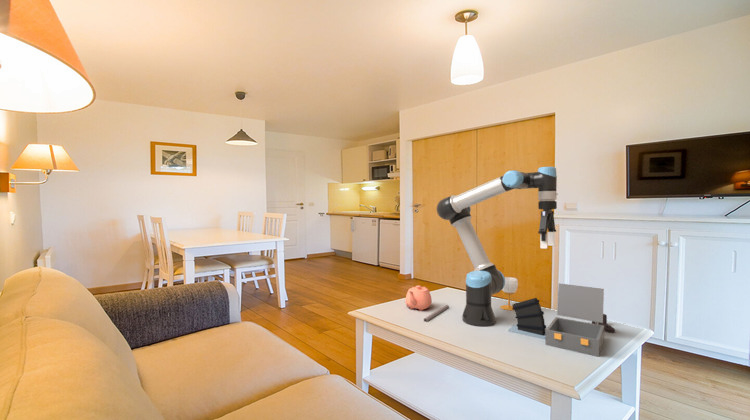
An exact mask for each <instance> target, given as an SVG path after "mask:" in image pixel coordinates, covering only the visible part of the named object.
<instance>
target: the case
mask: <svg viewBox="0 0 750 420" xmlns="http://www.w3.org/2000/svg"><path fill="white" fill-rule="evenodd" d="M545 332H546V338H545V345H546V346H549V347H553V348H558V349H563V350H568V351H571V352H576V353H581V354H585V355H590V356H593V357H597V358H598V357H600V355H601V352H602V347H603V346H604V342H605V331H604V326H603V325H598V322H595V324H592V322H591V323H590V322H586V321H579V320H573V319H570V318H562V317H554V318H553V320H552V321H551V322H550V323H549V325H548V326H546V328H545Z"/></svg>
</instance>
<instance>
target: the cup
mask: <svg viewBox="0 0 750 420" xmlns="http://www.w3.org/2000/svg"><path fill="white" fill-rule="evenodd" d="M504 277H505V285H504V288H503V289H502V290H501V291H503V293H504V294H506V295H507V296H508V300H507V302H508V303H507V305H506V304H503V305H501V306H500V309H502V310H504V311H514V310H513V309H512V308H513V306H512V305H511V296H512V295H515V293H516V292H517V290H518V286H519V281H518V278H516V277H511V276H510V277H509V276H504Z"/></svg>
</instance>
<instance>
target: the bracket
mask: <svg viewBox="0 0 750 420" xmlns="http://www.w3.org/2000/svg"><path fill="white" fill-rule="evenodd" d="M607 319H608V317H607V314H605V313H603V323H600V322H598V325H603V326H604V333H605V332H606V333H609V334H615V333H616V329H615V328H614V327H613V326H612V325H609V324H608V323H607V322H608V321H607ZM591 324H595V322H594V321H591Z"/></svg>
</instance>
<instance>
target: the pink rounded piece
mask: <svg viewBox="0 0 750 420" xmlns="http://www.w3.org/2000/svg"><path fill="white" fill-rule="evenodd" d="M404 303H405V305H406V307H408V309H409V310H414V309H418V311H419V312H423V311H424V310H425V309H428V308H429V307H431V305H432V295H431V293H430V290H429V288H427V287H426V286H421V285H415V286H412V287H411V288H409V289H408V291H407V292H406V296H405V301H404Z"/></svg>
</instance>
